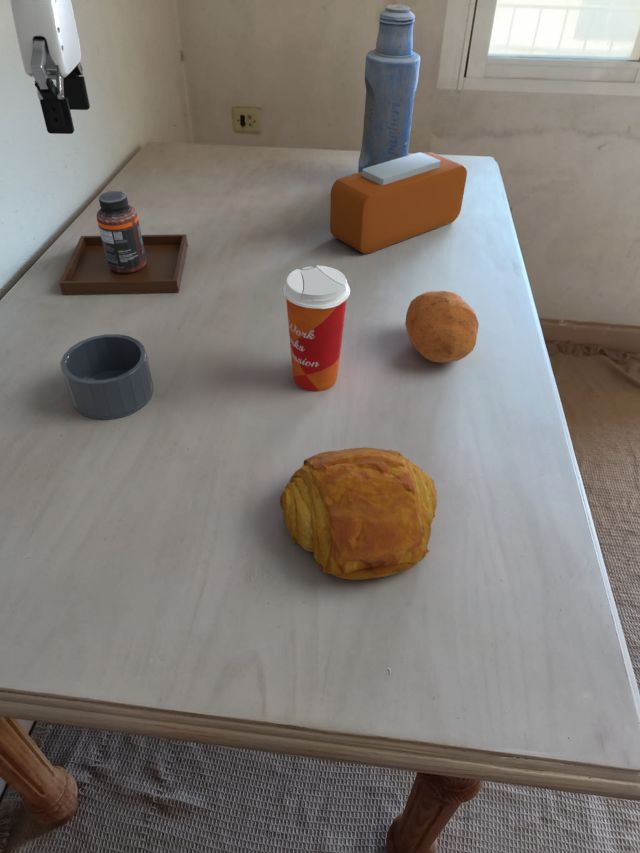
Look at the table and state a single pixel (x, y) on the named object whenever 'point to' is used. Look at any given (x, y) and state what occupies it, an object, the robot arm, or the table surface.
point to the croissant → (360, 511)
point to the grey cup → (107, 376)
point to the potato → (441, 326)
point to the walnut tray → (156, 276)
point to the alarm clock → (396, 200)
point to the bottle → (389, 89)
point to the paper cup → (316, 324)
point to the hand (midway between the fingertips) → (70, 120)
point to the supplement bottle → (120, 233)
